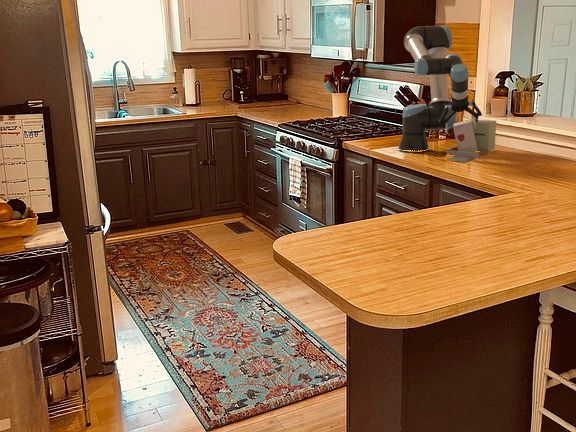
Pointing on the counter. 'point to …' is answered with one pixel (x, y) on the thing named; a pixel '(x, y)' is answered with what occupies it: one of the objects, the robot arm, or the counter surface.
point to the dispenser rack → (480, 139)
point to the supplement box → (465, 136)
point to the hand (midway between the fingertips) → (460, 129)
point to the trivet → (461, 158)
